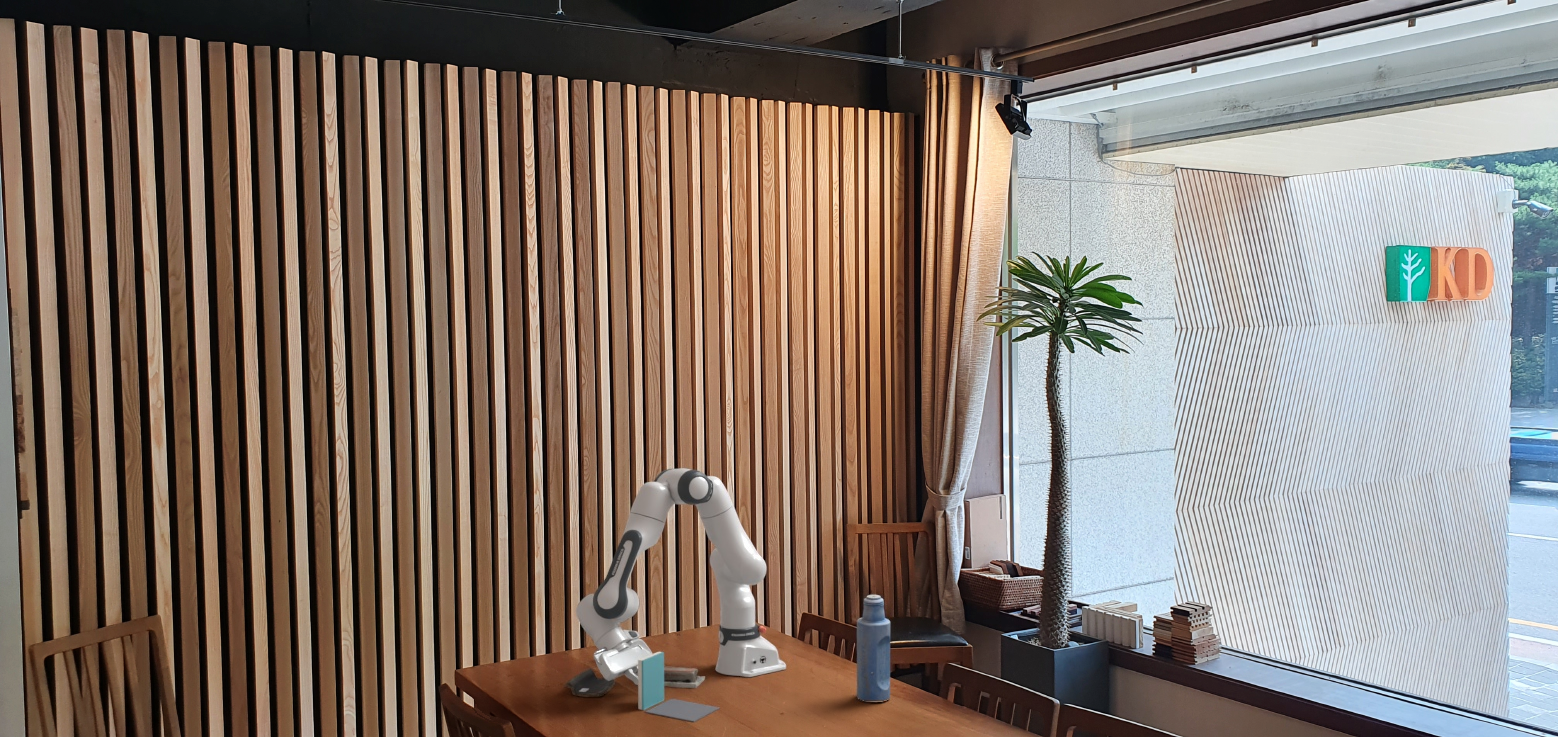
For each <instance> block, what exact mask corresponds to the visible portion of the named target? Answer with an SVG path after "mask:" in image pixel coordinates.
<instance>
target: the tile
mask: <svg viewBox="0 0 1558 737" xmlns="http://www.w3.org/2000/svg"><path fill="white" fill-rule="evenodd" d="M664 666H665V652H664V651H657V652H654V653H653V654H652V655H649V656H647V657H644V658H642V659H639V660H638V685H637V689H638V691H637V693H638V694H637V695H638V697H637V698H638V699H637V701H638V702H637V703H638V705H637V706H638V710H640V711H646V710H648V709H650V708H653V707H655V705H656V706H657V705H659V704H661V703H663V702H665V686H664Z"/></svg>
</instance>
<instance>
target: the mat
mask: <svg viewBox="0 0 1558 737" xmlns="http://www.w3.org/2000/svg"><path fill="white" fill-rule="evenodd" d="M720 709H721V708H720V707H718V706H713V705H707V704H702V703H697V702H691V701H686V700H681V699H676V698H670V699H668V700H666V701H663V702H661V703H659V704H657V705H656V706H652V707H650V708H648V709H646V710H644V713H646V714H650V715H656V716H661V717H666V718H671V719H676V720H682V721H685V722H686V721H687V722H690V723H695V722H697V721H699V720H701V719H703V718H704V717H707V716H709V715H710V714H713V713H714V712H716V711H718V710H720Z"/></svg>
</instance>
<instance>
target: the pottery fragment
mask: <svg viewBox="0 0 1558 737" xmlns="http://www.w3.org/2000/svg"><path fill="white" fill-rule="evenodd" d="M615 679H616V678H615ZM615 679H612V680H610V681H608V680H606V679H605V678H604V677H602V678H599V677H597V675H596V673H595V672H594V669H593V668H590V667H589V668H588V669H586V670H584V671H582V672H581V673H579V674H577V675H576V676H574V677H573V678H571V679H570V680H568V681H567V682H566V683H565V684H564V688H569V689H570V690H571V693H572V695H573V696H577V697H578V696H579V697H582V698H583V697H585V698H588V697H589V698H591V697H593V698H594V697H603V696H604V694H605V695H606V694H607V693H608V692H609V691H610V690H611V688H612V689H613V688H614V687H615V684H616V681H615ZM607 691H608V692H607Z"/></svg>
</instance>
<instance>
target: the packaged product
mask: <svg viewBox="0 0 1558 737" xmlns="http://www.w3.org/2000/svg"><path fill="white" fill-rule="evenodd" d="M698 672H699V668H695V667H694V668H693V667H683V666H682V667H681V666H669V665H664V687H666V686H670V687H669V688H681V689H682V688H683V689H685V688H686V689H697V688H698V687H699V686H700V685H701V684H702V683H703V682H704V681H705V679H706V676H704V675H703V676H700V675H698Z"/></svg>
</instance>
